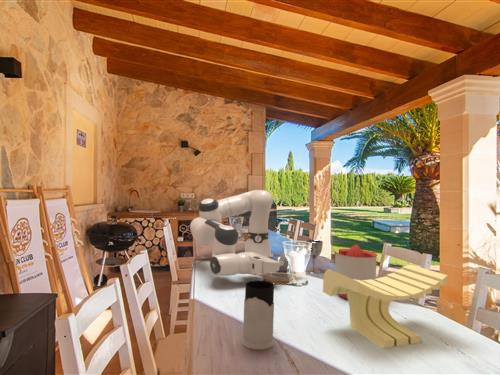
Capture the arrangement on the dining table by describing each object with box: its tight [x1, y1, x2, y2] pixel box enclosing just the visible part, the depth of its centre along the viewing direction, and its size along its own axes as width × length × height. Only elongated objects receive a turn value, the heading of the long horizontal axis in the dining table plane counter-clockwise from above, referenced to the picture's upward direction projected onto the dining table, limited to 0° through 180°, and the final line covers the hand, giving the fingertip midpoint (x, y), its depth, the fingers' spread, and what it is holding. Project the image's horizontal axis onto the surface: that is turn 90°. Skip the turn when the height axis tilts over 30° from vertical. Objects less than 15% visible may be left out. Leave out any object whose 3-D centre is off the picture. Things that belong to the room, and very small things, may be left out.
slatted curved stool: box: [322, 264, 449, 349], centre depth 96 cm, size 30×16×18 cm, turn 109°
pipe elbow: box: [276, 247, 289, 273], centre depth 149 cm, size 8×5×15 cm, turn 114°
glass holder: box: [240, 280, 275, 350], centre depth 90 cm, size 9×14×15 cm, turn 163°
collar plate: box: [262, 268, 290, 285], centre depth 147 cm, size 14×14×4 cm
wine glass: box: [305, 239, 324, 274], centre depth 164 cm, size 8×8×15 cm
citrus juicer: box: [329, 244, 378, 300], centre depth 128 cm, size 16×17×20 cm
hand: (276, 260), depth 146 cm, fingers open, 8 cm apart
